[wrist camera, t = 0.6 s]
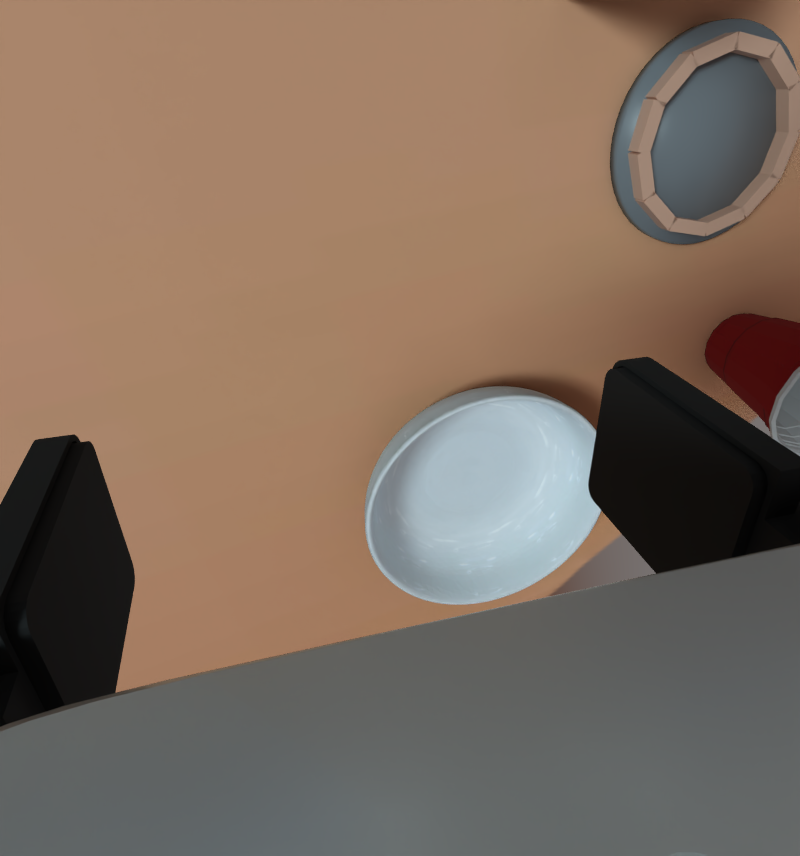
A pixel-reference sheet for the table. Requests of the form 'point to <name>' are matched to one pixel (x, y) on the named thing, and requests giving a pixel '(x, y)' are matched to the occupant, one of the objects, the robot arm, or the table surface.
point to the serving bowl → (481, 495)
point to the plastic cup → (762, 370)
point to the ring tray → (705, 131)
